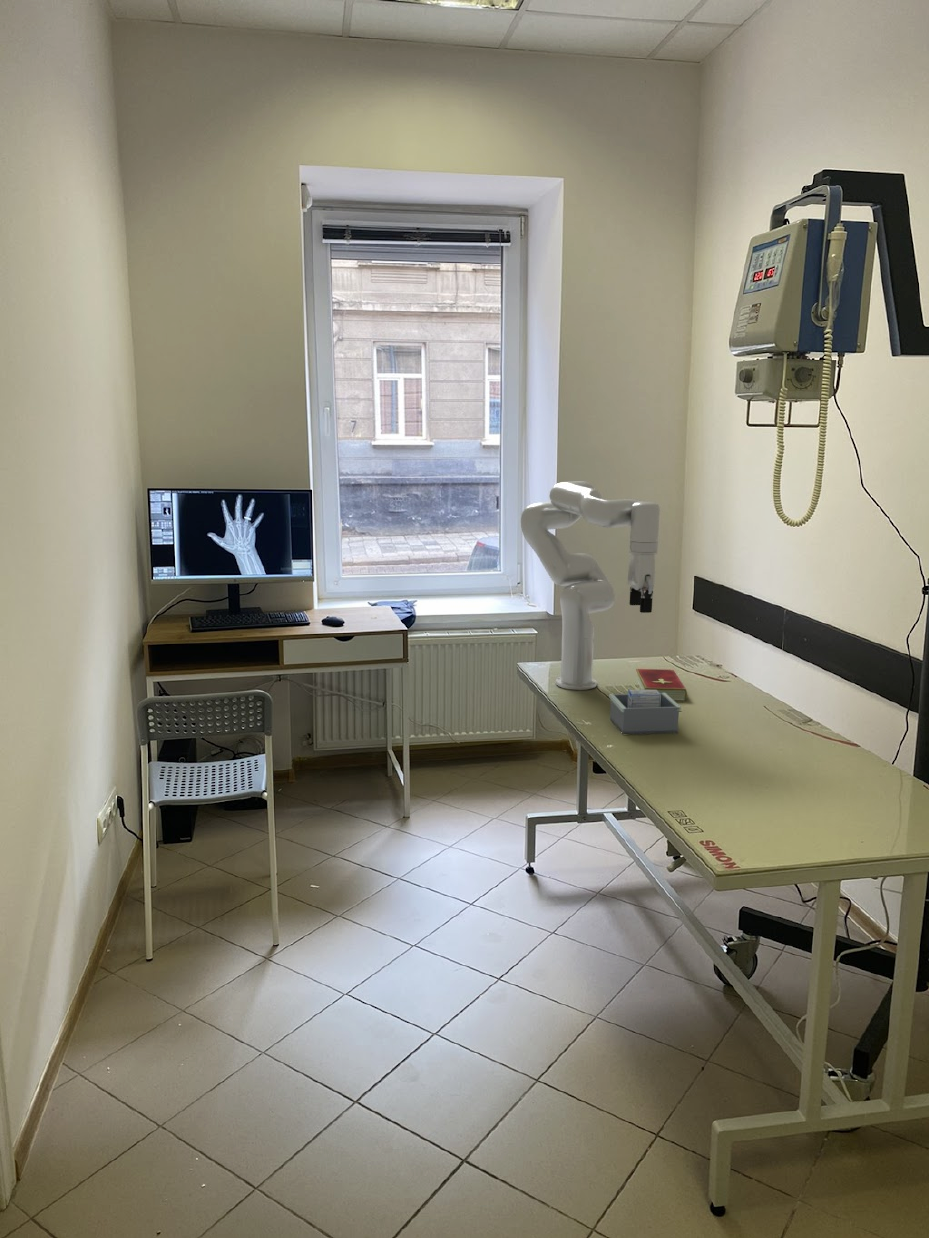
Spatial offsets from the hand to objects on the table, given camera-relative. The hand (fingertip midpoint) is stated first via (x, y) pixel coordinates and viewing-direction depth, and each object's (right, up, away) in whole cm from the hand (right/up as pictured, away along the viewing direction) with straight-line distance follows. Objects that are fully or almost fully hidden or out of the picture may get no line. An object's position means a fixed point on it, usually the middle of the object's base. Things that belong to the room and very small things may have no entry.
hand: (640, 608), depth 254 cm
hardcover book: (+10, -25, +22) cm, 35 cm away
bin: (-1, -31, -11) cm, 33 cm away
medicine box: (-1, -31, -11) cm, 33 cm away
